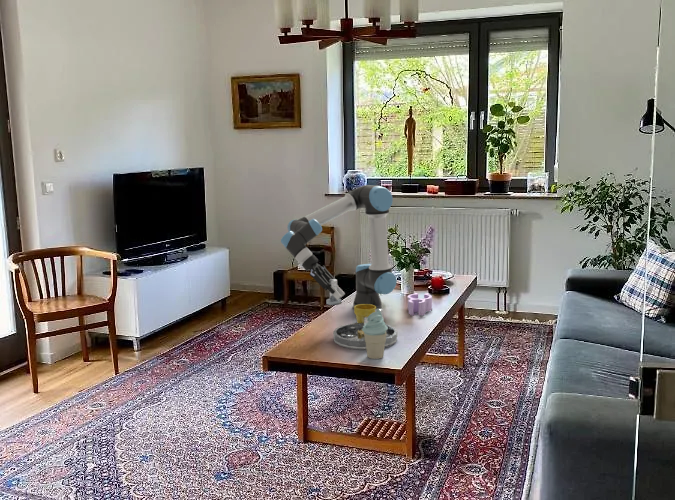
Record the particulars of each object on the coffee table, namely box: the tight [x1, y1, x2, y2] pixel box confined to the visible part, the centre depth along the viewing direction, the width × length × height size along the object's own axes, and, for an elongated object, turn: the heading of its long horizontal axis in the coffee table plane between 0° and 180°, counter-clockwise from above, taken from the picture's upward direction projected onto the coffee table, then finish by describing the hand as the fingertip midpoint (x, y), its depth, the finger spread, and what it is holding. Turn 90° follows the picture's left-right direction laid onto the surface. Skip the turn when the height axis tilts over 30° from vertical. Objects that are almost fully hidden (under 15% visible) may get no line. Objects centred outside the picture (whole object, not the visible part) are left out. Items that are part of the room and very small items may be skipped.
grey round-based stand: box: [326, 278, 343, 306], centre depth 307 cm, size 7×7×11 cm
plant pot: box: [353, 304, 376, 323], centre depth 316 cm, size 10×10×10 cm
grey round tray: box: [332, 308, 398, 351], centre depth 296 cm, size 28×28×12 cm
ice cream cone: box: [362, 309, 388, 360], centre depth 273 cm, size 10×11×20 cm
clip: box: [407, 292, 433, 316], centre depth 343 cm, size 20×12×7 cm, turn 164°
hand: (341, 296), depth 306 cm, fingers closed on grey round-based stand, 4 cm apart
